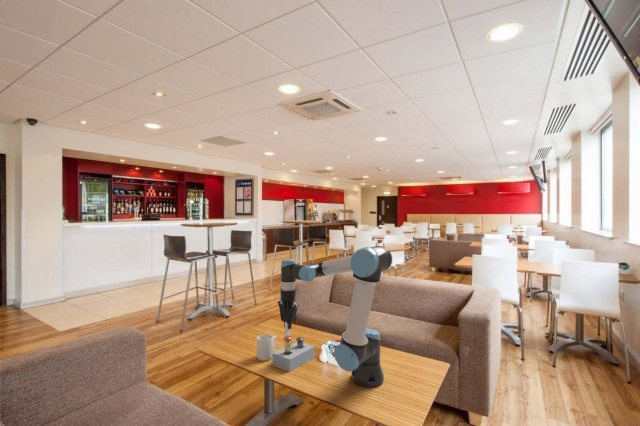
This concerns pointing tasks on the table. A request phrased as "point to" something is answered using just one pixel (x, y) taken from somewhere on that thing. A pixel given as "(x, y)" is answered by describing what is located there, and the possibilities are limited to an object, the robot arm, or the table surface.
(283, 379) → the table surface
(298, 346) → the dark plug
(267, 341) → the mug
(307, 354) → the block
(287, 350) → the brass plug
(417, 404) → the table surface
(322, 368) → the table surface
